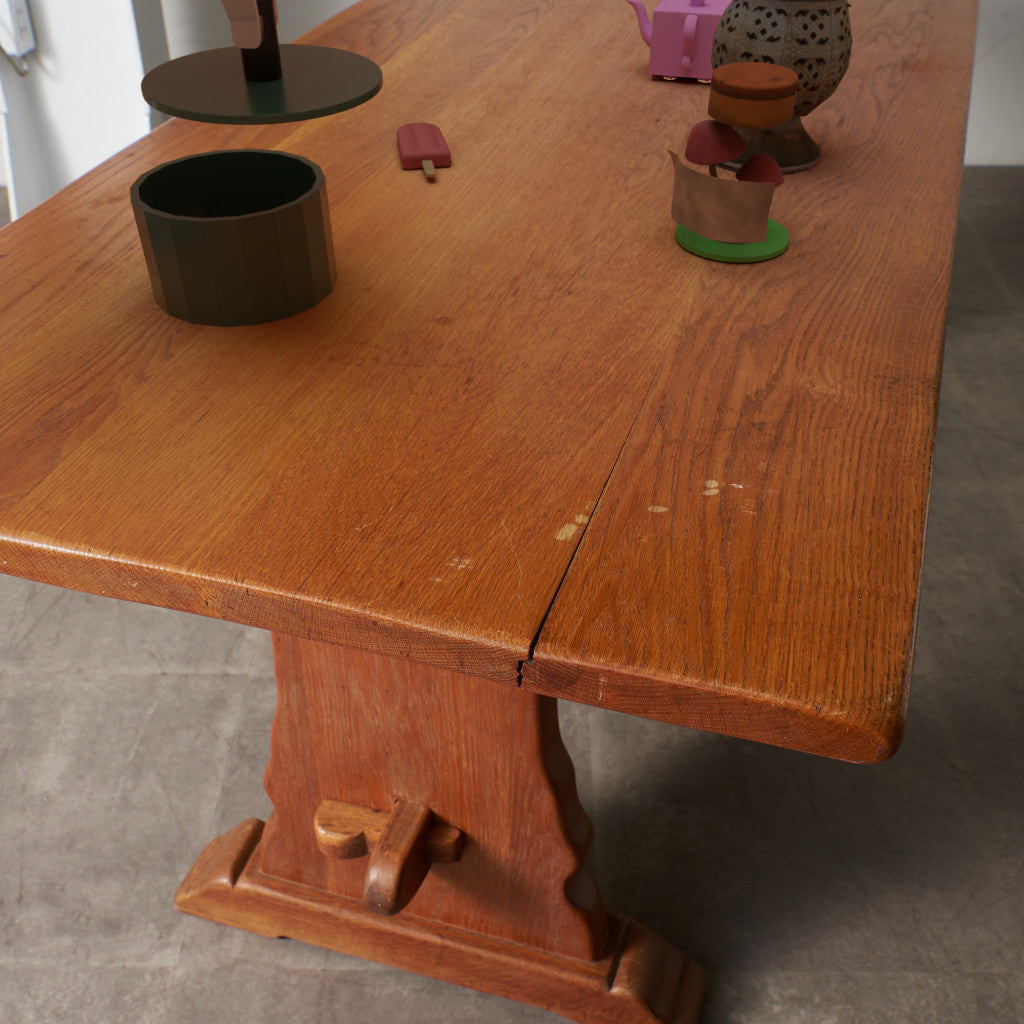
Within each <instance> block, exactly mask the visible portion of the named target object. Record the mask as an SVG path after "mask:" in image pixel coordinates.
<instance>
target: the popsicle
mask: <svg viewBox="0 0 1024 1024" xmlns="http://www.w3.org/2000/svg"><path fill="white" fill-rule="evenodd" d="M396 141H397V147H398V154H399V159H400V162H401V167H402V168H403V170H413V169H415V170H417V169H423V171H424V176H425V177H426V178H435V177H436V176H437V171H436V168H442V167H443V168H444V167H451V165H452V153H451V151H450V149H449V147H448V144H447V141H446V140H445V137H444V135H443V133H442V131H441V128H440V127H439V126H437V125H436V124H434V123H429V122H417V121H416V122H410V123H405V124H403V125H400V126H399V128H398V129H396Z"/></svg>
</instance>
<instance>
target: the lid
mask: <svg viewBox="0 0 1024 1024" xmlns="http://www.w3.org/2000/svg"><path fill="white" fill-rule="evenodd" d="M256 3H257V8H258V13H259V14H262V18H263V29H264V33H265V38H264V40H263V42H262V43H261V44H260V46H259V47H258V48H255V49H247V48H238V47H237V46H235V45H234V46H233V45H232V46H226V47H218V48H211V49H206V50H202V51H201V50H200V51H197V52H193V53H189V54H186V55H182V56H179V57H176V58H173V59H170V60H167V61H166V62H163V63H161V64H159V65H157V66H156V67H154V68H152V69H151V70H150V71H148V72H146V74H145V75H144V76H143V77H142V79H141V82H140V90H141V95H142V97H143V100H144V102H146V104H147V105H148V106H150V107H151V108H153V109H154V110H156V111H158V112H159V113H162V114H165V115H168V116H171V117H174V118H178V119H181V120H187V121H190V122H191V121H192V122H198V123H205V124H215V125H229V126H230V125H231V126H264V125H265V126H267V125H280V124H281V125H282V124H288V123H289V124H290V123H296V122H304V121H309V120H315V119H320V118H325V117H329V116H333V115H336V114H340V113H343V112H346V111H349V110H352V109H355V108H356V107H359V106H361V105H363V104H365V103H367V102H369V101H370V100H372V99H373V98H374V97H376V96H377V95H378V94H379V93H380V92H381V90H382V89H383V85H384V76H383V70H382V69H381V67H380V65H378V64H377V63H376V62H375V61H373V60H371V59H370V58H368V57H366V56H363V55H361V54H359V53H355V52H352V51H349V50H345V49H340V48H335V47H331V46H330V47H329V46H322V45H313V44H302V43H280V42H279V36H278V35H279V33H278V25H277V26H276V18H275V10H274V2H273V0H256Z"/></svg>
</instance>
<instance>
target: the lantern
mask: <svg viewBox="0 0 1024 1024" xmlns="http://www.w3.org/2000/svg"><path fill="white" fill-rule="evenodd" d="M849 8H852V4H850V3H849V2H848V0H732V2H731V3H730V4H729V5H728V7H727V8H726V9H725V11H724V13H723V15H722V17H721V20H720V22H719V24H718V26H717V28H716V31H715V33H714V36H713V45H712V54H711V63H712V67H713V71H714V70H715V69H716V68H718V67H720V66H722V65H726V64H730V63H738V62H759V63H768V64H774V65H779V66H782V67H785V68H788V69H790V70H792V71H794V72H795V73H796V74H797V75H798V79H799V80H798V86H797V92H796V98H795V104H794V110H793V116H792V119H791V120H790V121H789V122H787V123H785V124H783V125H779V126H774V127H766V128H744V127H738V126H733V129H734V130H735V131H736V132H737V133H738V134H739V135H741V136H742V137H743V138H744V139H745V140H746V141H747V142H748V147H747V149H746V151H745V152H744V153H743V154H742V155H741V156H740V157H738V158H736V159H734V160H732V161H729V162H726V163H721V164H716V167H719V168H722V169H726V170H729V171H733V172H735V173H736V172H737V171H738V170H739V169H740V167H741V166H742V165H743V164H744V163H745V162H746V161H747V160H748V159H749V158H750V157H752V156H754V155H757V154H766V155H769V156H771V157H772V158H773V159H774V160H775V161H776V163H777V164H778V166H779V167H780V170H781V172H782V174H783V175H790V174H796V173H799V172H804V171H808V170H810V169H811V168H814V167H815V166H817V165H818V163H819V161H820V159H821V156H822V150H821V147H820V145H819V144H818V143H817V142H816V141H815V140H814V139H812V137H811V136H810V134H809V133H808V132H807V130H806V129H805V126H804V125H803V122H802V119H801V117H807V116H808V115H810V114H811V113H812V112H813V111H814V110H816V109H817V108H818V107H819V106H821V105H822V104H823V103H824V102H825V101H826V100H828V99H829V98H830V97H832V96H833V94H835V92H836V91H837V89H838V87H839V85H840V84H841V82H842V80H843V78H844V76H845V75H846V73H847V72H848V70H849V68H850V61H851V54H852V49H853V43H854V42H853V34H852V33H853V32H852V25H851V18H850V10H849Z"/></svg>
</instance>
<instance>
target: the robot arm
mask: <svg viewBox="0 0 1024 1024" xmlns="http://www.w3.org/2000/svg"><path fill="white" fill-rule="evenodd" d="M220 2H221V4H222V6H223V9H224V11H225V13H226V16H227V18H228V20H229V24H230V25H229V26H230V31H231V38H232V42H233V44H234V46H237V47H238V48H247V49H255V48H258V47H259V46H260V44H261V43H262V42H263V40H264V38H265V33H264V29H263V18H262V14H259V13H258V8H257V3H256V0H220ZM273 2H274V10H275V18H276V26H277V27H278V25H279V22H280V21H279V13H278V5H277V0H273Z"/></svg>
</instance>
